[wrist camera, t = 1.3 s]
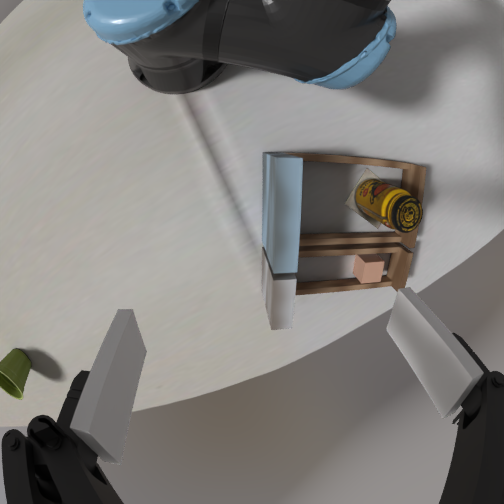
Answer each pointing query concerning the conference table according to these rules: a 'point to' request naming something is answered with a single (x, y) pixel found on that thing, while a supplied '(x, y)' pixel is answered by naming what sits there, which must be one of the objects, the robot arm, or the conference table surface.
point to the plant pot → (14, 373)
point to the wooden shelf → (289, 207)
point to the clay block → (368, 268)
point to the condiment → (385, 204)
